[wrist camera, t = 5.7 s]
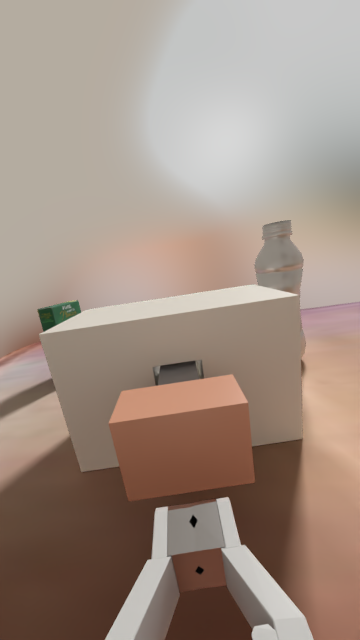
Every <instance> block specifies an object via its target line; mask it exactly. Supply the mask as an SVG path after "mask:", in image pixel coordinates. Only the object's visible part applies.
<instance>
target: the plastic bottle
mask: <svg viewBox="0 0 360 640" xmlns="http://www.w3.org/2000/svg"><path fill="white" fill-rule="evenodd" d="M290 235H292V231H291V220H287V221H280V222H275V223H271V224H267V225H264V226H263V237H262V240H265V243H264V246H263V247H262V249H261V251H260V253H259V255H258V257H257V258H256V262H255V272H256V277H257V282H258V286H263V287H267V288H271V289H276V290H280V291H284V292H289V293H293V294H297V295H300V286H301V279H302V271H303V269H302V267H303V257H302V254H301V252H300V251H299V250H298V248H297V247H296V246H295V245H294V244H293V242H292V241H291V240H290ZM300 335H301V357H302V356H303V355H304V352H305V347H306V341H305V336H304V332H303V329H302V321H301V313H300Z"/></svg>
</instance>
